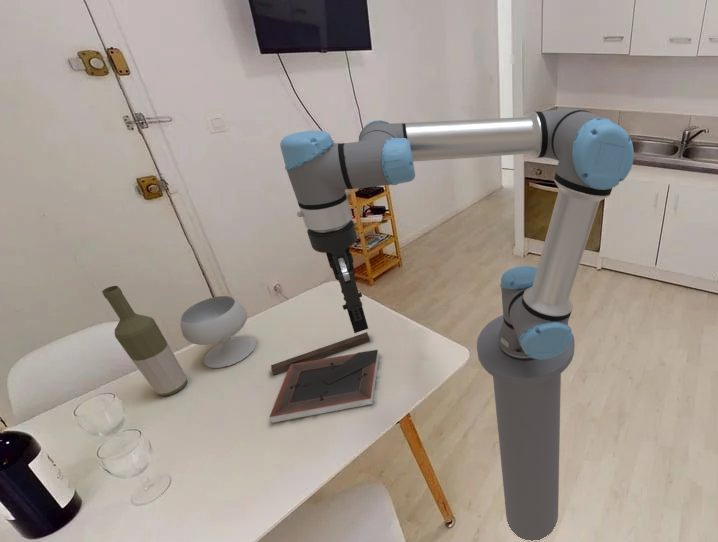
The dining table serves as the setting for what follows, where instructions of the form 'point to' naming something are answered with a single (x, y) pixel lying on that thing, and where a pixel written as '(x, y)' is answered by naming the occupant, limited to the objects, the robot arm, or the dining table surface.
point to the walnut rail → (321, 352)
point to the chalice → (218, 330)
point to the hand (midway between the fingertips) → (360, 328)
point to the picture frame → (326, 386)
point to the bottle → (146, 346)
